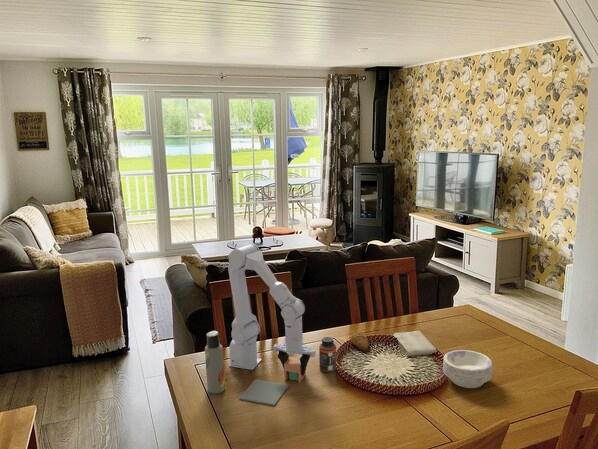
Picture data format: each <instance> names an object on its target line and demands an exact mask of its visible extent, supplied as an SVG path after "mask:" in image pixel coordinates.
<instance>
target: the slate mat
mask: <svg viewBox="0 0 598 449" xmlns="http://www.w3.org/2000/svg"><path fill="white" fill-rule="evenodd" d="M288 388H290V387H289V384H286V383H279V382H275V381H274V382H273V381H268V380H267V381H266V380H262V379H254V381H253V382H252V383H251V384H250V385H249V386H248V388H247V389H246V390H245V391H244V392H243V393H242V394H241V396H239V400H241V401H245V402H252V403H257V404H262V405H267V406H272V407H275V406H276V405H277V403H278V402H279V400H280V399H281V398H282V397H283V395H284V394H285V392H286V391H287V390H288Z"/></svg>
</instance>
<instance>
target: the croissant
mask: <svg viewBox="0 0 598 449" xmlns="http://www.w3.org/2000/svg"><path fill="white" fill-rule="evenodd" d="M350 342H351V343H352V344H353V346H355V347H357V348H358V349H359V350H361V351H362V352H368V350H369V346H370V344H369V340H368V338H367V336H366V335H365V334H364V333H361V332H359V333H358V332H354V333H352V335H351V336H350Z"/></svg>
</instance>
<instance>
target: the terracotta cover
mask: <svg viewBox="0 0 598 449" xmlns="http://www.w3.org/2000/svg"><path fill="white" fill-rule="evenodd" d="M300 358H301V357H295V356H289V359H288V360H287V361H286V362H285V363H284V368H283V371H284V372H283V374H284V381H287V380H288V379H289V372H295V373H298V380H297V381H298V383H301V382H302V381H303V380H304V378H305V377H306V373H305V374H304V376H302V375H301V363H300Z"/></svg>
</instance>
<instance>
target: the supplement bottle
mask: <svg viewBox="0 0 598 449" xmlns="http://www.w3.org/2000/svg"><path fill="white" fill-rule="evenodd" d="M318 352H319V356H318V357H319V358H318V360H319V362H318V363H319V370H320V371H322V372H323V373H333V372H335V371H336V370H337V345H336V344H335V343H334V338H333V337H331V336H326V337H323V338H321V343H320V345H319V350H318Z"/></svg>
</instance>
